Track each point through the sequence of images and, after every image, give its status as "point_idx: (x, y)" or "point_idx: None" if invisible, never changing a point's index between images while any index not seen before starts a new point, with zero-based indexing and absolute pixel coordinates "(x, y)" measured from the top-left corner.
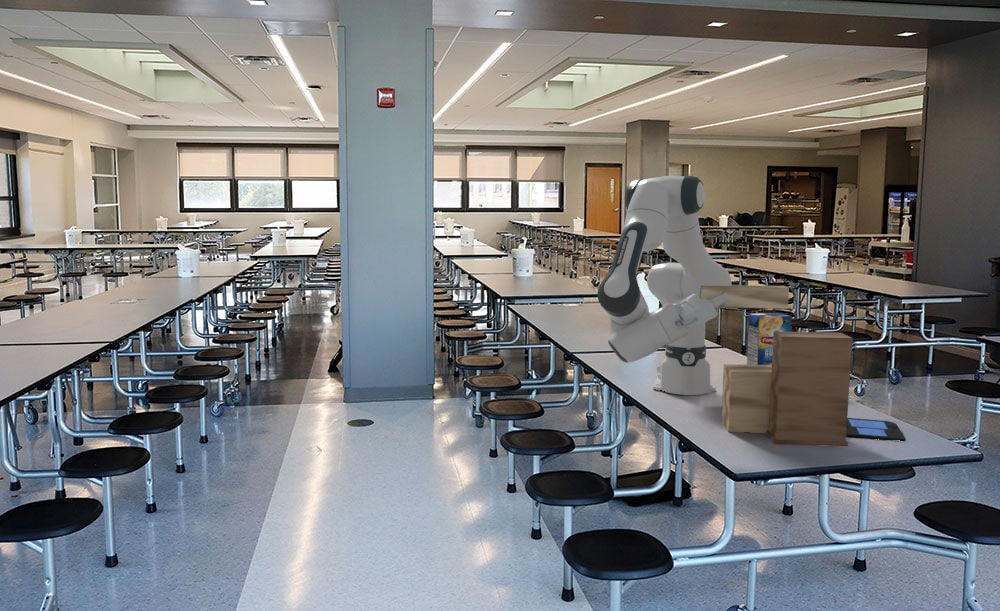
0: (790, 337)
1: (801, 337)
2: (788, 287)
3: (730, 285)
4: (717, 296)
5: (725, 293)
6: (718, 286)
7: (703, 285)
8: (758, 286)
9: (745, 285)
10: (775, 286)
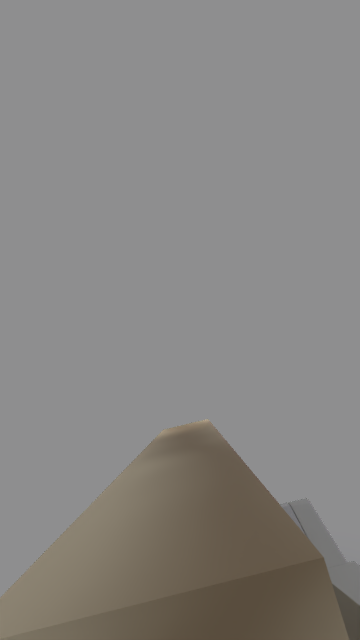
0: None
1: None
2: (206, 419)
3: (150, 462)
4: (355, 586)
5: (310, 504)
6: (246, 468)
7: (151, 570)
8: (190, 432)
9: (148, 449)
10: (181, 428)
